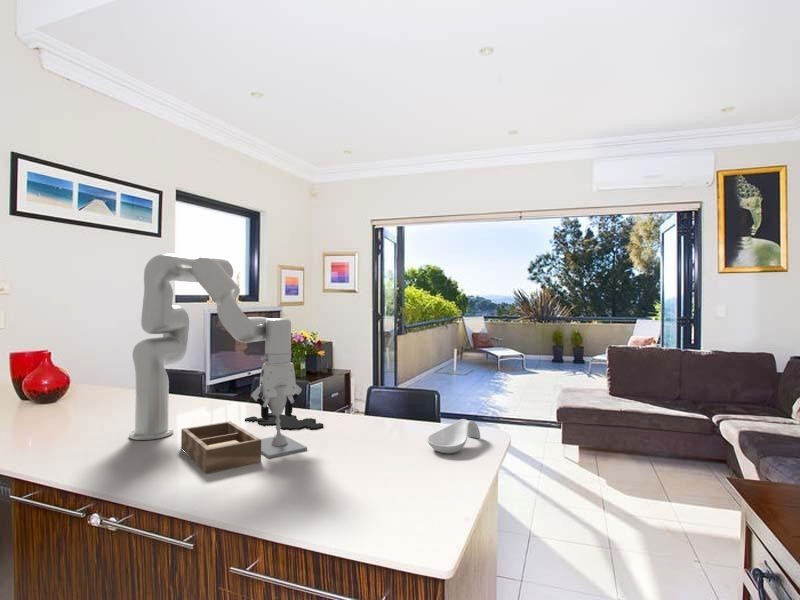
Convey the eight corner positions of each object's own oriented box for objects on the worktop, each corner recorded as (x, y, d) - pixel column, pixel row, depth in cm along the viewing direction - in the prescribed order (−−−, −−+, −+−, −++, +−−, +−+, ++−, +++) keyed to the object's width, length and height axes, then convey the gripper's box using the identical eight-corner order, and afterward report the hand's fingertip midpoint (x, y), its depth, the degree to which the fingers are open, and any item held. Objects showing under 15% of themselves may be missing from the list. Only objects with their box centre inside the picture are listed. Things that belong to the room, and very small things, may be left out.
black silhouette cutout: (243, 421, 169) (299, 435, 152) (243, 418, 169) (299, 433, 152) (277, 413, 182) (332, 425, 165) (277, 410, 182) (332, 422, 165)
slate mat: (247, 444, 141) (247, 441, 141) (283, 437, 149) (283, 434, 149) (268, 458, 129) (268, 455, 129) (307, 449, 136) (307, 447, 136)
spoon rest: (454, 460, 130) (454, 435, 130) (419, 452, 136) (420, 428, 137) (489, 440, 149) (490, 418, 149) (457, 434, 156) (458, 413, 156)
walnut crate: (181, 449, 136) (181, 428, 136) (230, 440, 145) (230, 421, 145) (206, 473, 117) (207, 450, 117) (260, 461, 126) (261, 439, 126)
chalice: (295, 441, 140) (292, 383, 139) (279, 448, 135) (275, 388, 134) (279, 437, 144) (275, 381, 143) (262, 444, 139) (258, 386, 138)
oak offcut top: (203, 453, 127) (203, 446, 127) (235, 446, 133) (235, 440, 133) (214, 460, 121) (214, 453, 121) (246, 453, 127) (247, 446, 127)
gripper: (255, 362, 130) (253, 424, 130) (309, 358, 141) (308, 415, 141) (245, 359, 136) (244, 419, 136) (298, 355, 147) (297, 411, 147)
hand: (276, 417), depth 139 cm, fingers open, 6 cm apart
